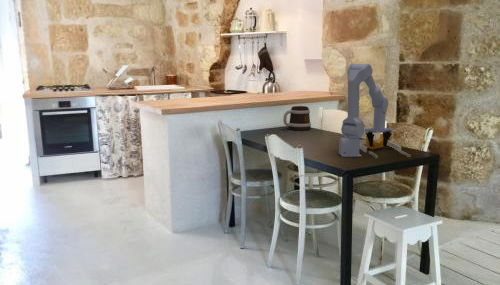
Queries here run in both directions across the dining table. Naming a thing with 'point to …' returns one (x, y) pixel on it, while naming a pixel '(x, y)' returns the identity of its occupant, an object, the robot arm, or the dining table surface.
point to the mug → (298, 118)
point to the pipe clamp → (375, 143)
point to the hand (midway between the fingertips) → (377, 146)
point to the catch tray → (377, 140)
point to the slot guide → (400, 152)
